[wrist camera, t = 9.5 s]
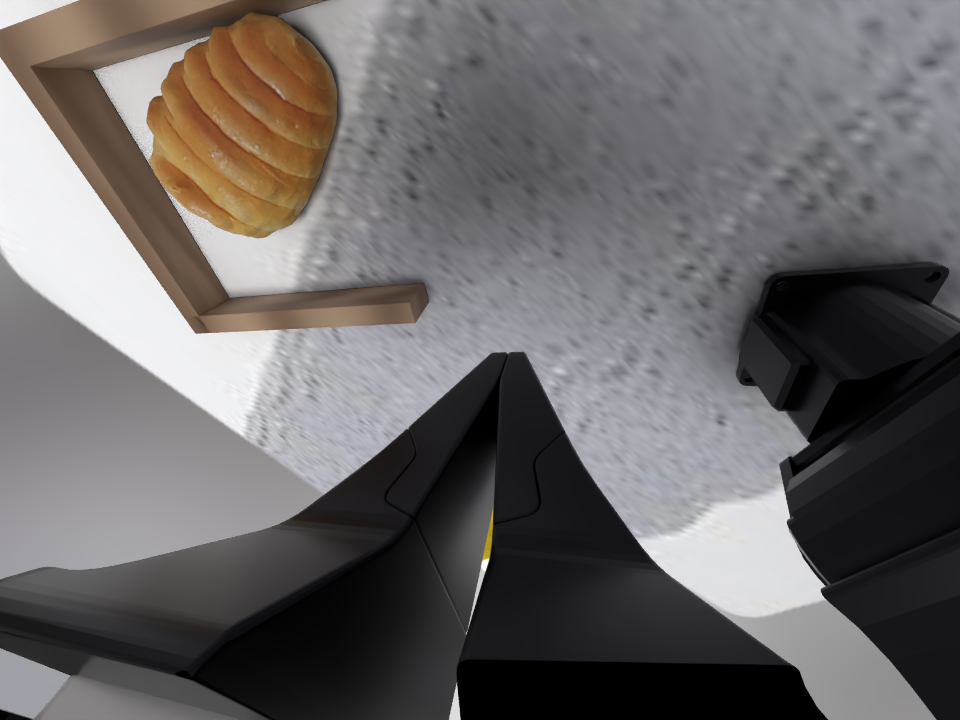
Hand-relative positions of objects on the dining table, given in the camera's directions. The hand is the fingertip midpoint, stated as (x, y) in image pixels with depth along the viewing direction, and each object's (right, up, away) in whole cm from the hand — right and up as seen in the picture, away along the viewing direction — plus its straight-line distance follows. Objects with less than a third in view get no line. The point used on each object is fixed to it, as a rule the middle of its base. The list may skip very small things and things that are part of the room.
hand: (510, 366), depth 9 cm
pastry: (-12, +11, +9) cm, 19 cm away
